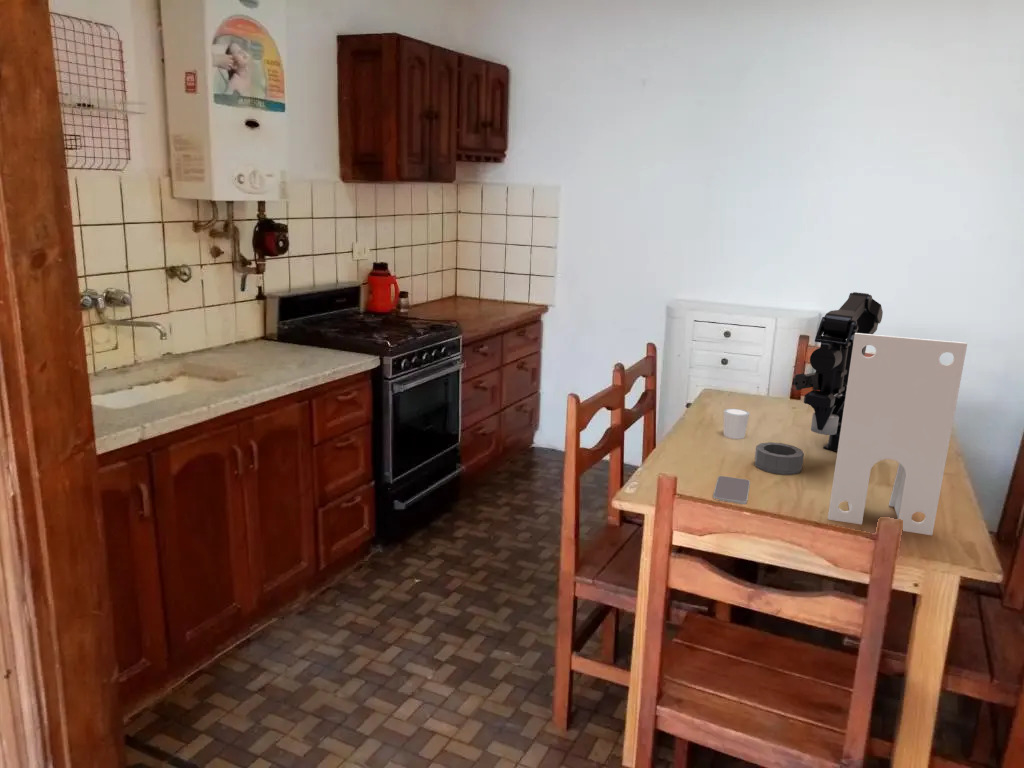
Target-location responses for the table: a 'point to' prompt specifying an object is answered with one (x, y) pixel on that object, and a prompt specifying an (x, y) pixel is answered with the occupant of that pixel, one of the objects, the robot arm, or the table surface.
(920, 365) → the white bracket plate
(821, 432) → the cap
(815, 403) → the robot arm
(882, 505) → the table surface
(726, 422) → the white cylinder
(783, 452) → the grey ring
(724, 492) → the grey square plate
